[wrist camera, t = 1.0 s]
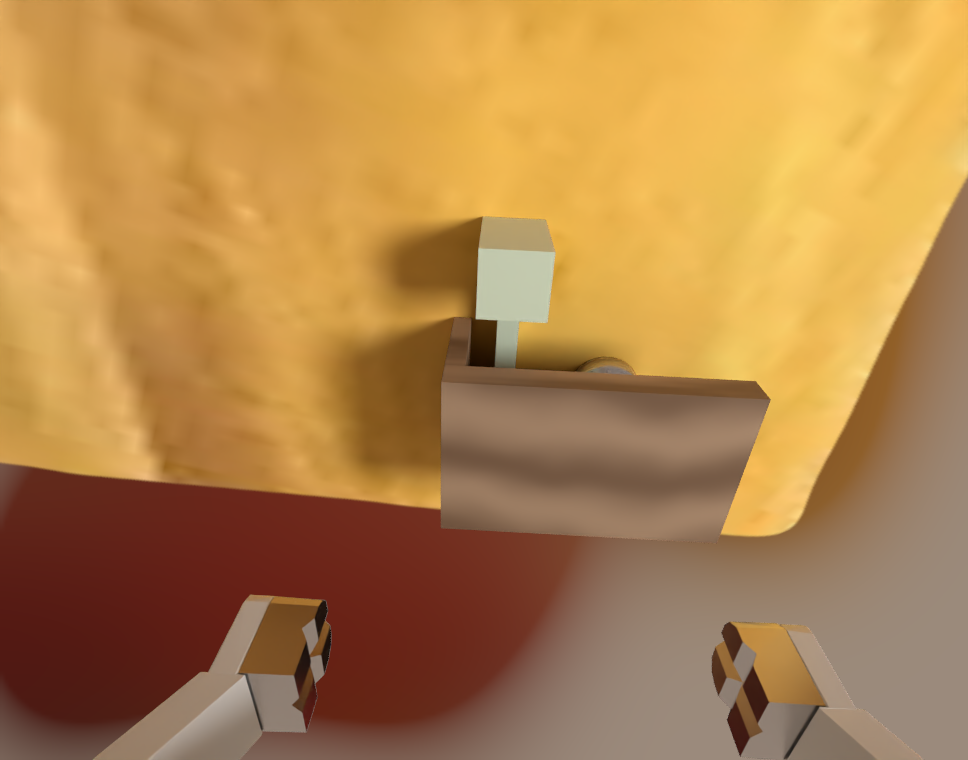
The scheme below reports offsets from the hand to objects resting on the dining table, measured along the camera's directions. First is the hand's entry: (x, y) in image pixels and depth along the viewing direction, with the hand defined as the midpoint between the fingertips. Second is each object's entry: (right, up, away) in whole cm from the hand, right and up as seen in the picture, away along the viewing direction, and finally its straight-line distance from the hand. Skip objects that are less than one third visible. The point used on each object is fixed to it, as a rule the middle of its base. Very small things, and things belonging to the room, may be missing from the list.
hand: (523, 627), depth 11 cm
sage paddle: (+1, +8, +27) cm, 28 cm away
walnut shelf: (+6, +4, +29) cm, 30 cm away
